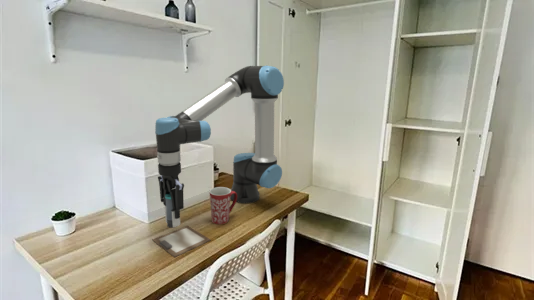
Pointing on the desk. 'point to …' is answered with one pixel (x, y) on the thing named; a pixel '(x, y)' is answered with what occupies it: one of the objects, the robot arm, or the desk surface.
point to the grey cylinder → (169, 210)
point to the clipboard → (181, 240)
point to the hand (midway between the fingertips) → (173, 223)
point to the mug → (221, 204)
